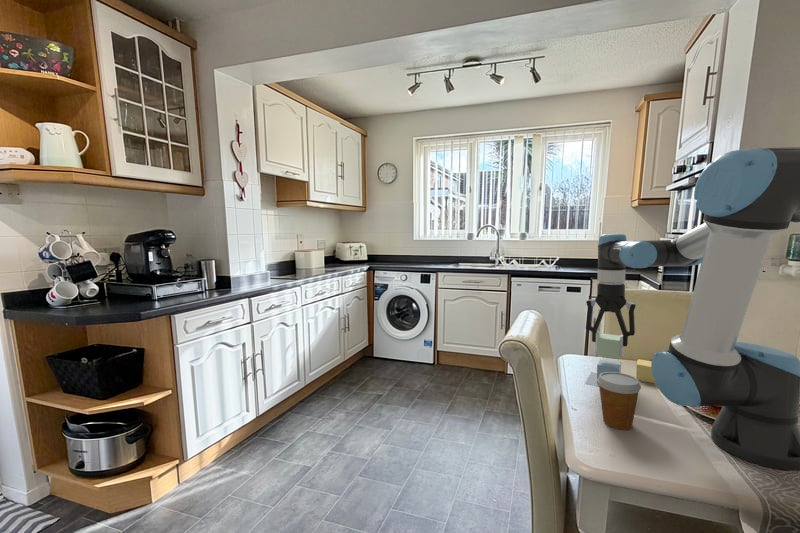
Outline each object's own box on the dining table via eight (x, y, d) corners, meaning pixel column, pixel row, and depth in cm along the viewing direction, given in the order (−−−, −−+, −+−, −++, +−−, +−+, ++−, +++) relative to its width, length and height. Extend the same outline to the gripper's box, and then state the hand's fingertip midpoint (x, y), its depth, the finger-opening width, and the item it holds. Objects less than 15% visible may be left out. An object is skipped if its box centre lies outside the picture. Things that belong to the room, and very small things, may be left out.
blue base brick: (618, 387, 109) (619, 368, 109) (596, 382, 113) (597, 364, 113) (620, 380, 114) (621, 362, 114) (599, 376, 118) (600, 359, 117)
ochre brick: (658, 386, 111) (659, 368, 111) (636, 382, 115) (636, 364, 114) (659, 380, 116) (659, 362, 116) (637, 376, 120) (638, 359, 119)
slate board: (629, 395, 105) (629, 393, 105) (584, 386, 113) (584, 383, 112) (632, 382, 115) (632, 379, 115) (591, 374, 122) (591, 372, 122)
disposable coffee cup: (595, 411, 96) (596, 369, 95) (636, 418, 92) (637, 374, 91) (597, 428, 88) (598, 382, 87) (643, 437, 84) (644, 388, 83)
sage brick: (619, 359, 109) (619, 340, 108) (597, 356, 113) (597, 337, 112) (621, 353, 114) (621, 335, 113) (600, 350, 117) (600, 333, 117)
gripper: (648, 283, 108) (645, 355, 110) (580, 279, 120) (579, 345, 122) (646, 286, 102) (644, 363, 104) (575, 282, 114) (574, 351, 116)
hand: (609, 353), depth 113 cm, fingers closed on sage brick, 6 cm apart
